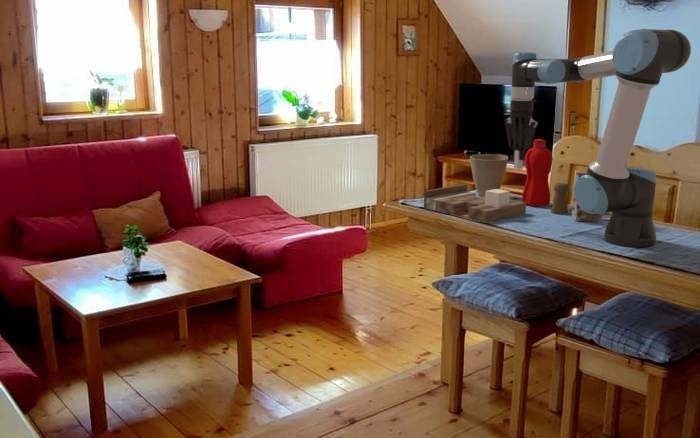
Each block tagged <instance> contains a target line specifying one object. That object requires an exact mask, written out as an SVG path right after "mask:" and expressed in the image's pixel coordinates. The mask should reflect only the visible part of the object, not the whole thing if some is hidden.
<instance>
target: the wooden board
mask: <svg viewBox="0 0 700 438" xmlns="http://www.w3.org/2000/svg"><path fill="white" fill-rule="evenodd" d="M423 209H427V210H431V211H434V212H440V213H443V214H448V215H451V216H457V217H461V218H465V219H469V220H473V221H476V222H477V221H478V222H481V223H485V224H486V223H491V222H495V221H499V220H504V219H507V218H508V219H509V218H513V217H518V216H521V215H526V213H527V212H526V211H527V205H526V203H525V202H522V201H520V200H513V199H510V198H509V205H507V206H503V207H494V206H489V205H485V196H484V197H480V196H476V192H474V191H469V190H468V185H467V184H466V183H462V184H457V185H451V186H444V187H438V188H434V189H427V190H424V191H423Z"/></svg>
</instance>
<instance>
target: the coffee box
mask: <svg viewBox="0 0 700 438" xmlns="http://www.w3.org/2000/svg"><path fill="white" fill-rule="evenodd" d="M586 173H587V172H575V177H574V183H575V182H576V181H577V179H578V178H580V177H581V176H583V175H586ZM571 208H572V211H571V218H572V219H573V220H574V221H575V222H590V221H592V222H593V223H594V222H596V223H597V222H598V223H602V220H603V214H590V213H587V212H585V211H583V210H582V209H581V208H580V207H579V205H578V204H577V201H576V199H575V196H574V195H573V199H572V207H571ZM592 222H591V223H592Z"/></svg>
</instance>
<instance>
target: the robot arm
mask: <svg viewBox="0 0 700 438" xmlns="http://www.w3.org/2000/svg"><path fill="white" fill-rule="evenodd" d="M691 53H692V47H691V43H690V40H689V39H688V37H687V36H686V35H685V34H684V33H682V32H680V31H678V30H675V29H655V28H654V29H653V28H652V29H651V28H650V29H649V28H640V29H633V30H629V31H628V32H625V33H624V34H623V35H622V36H620V37H619V38H618V40H617V41H616V43H615V45H614V47H613V50H610V51H606V52H601V53H596V54H592V55H586V56H581V57H575V58H537V53H536V52H515V53H514V54H513V57H512V59H513V60H512V64H511V67H512V68H511V69H512V71H511V72H512V73H511V90H510V98H511V99H512V100H510V105H509V110H510V113H509V116H508V117H507V118H504V119H503V123H504V125H505V130H506V137H507V146H508V148H511V149H512V151H513V152H512V159H513V160H514V161H513V170H518V171H519V170H522V169H523V165H524V163H523V162H524V161H525V156H526V150H527V151H528V150H529V149H531V148H532V144H533V141H534V135H535V132H536V129H537V127H538V126H539V125H540V123H539V121H536V120H534V119H533V117H534V116H533V111H534V100H533V99H534V98H535V83H538V84H539V83H540V84H546V85H547V84H558V83H559V84H560V83H584V82H588V81H589V80H590V81H591V80H595V79H601V78H608V77H614V76H615V77H616V79H617V80H618V85H617V88H616V91H615V94H614V95H615V96H614V98H613V101H612V105H611V108H610V111H609V115H608V119H607V120H606V121H607V122H606V125H605V128H604V131H603V135H602V138H601V143H600V145H599V148H598V152H597V156H596V159H595V160H594V161H593V162H590V163H589V164H588V166H587V171H586V172H585V173H586V175H583V176H581V177H580V178H578V179H577V181H576V182H575V181H574V186H573V197H574V196H575V199H576V201H577V204H578V205H579V207H580V208H581V209H582V210H583V211H585V212H587V213H590V214H602V215H603V214H605V213H611V212H612V213H611V216H610V217H609V218H610V219H609V220H608V222H607V225H606V227H605V230H604V233H603V234H604V235H603V239H604V240H605V241H606V242H607V243H610V244H613V245H617V246H618V245H619V246H624V247H633V248H634V247H635V248H642V247H643V248H644V247H651V246H655V245H656V244H657V243H656V242H657V234H656V228H655V225H654V221H653V213H654V205H655V195H656V187H657V186H656V185H657V173H656V172H655V171H654V170H652V169H648V168H642V167H637V166H636V167H635V166H628V162H629V159H630V156H631V154H632V149H633V147H634V143H635V140H636V138H637V134H638V131H639V128H640V125H641V121H642V118H643V115H644V112H645V108H646V106H647V103H648V100H649V97H650V95H651V94H650V93H651V91H652V89H653V88H655V87H656V86H658V85H660V82H661V78H662V76H663V74H667V73H674V72H676V71H679V70H680V69H681V68H683V67H684V66H685V65H686V64H687V63H688V61H689V59H690V57H691Z"/></svg>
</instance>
